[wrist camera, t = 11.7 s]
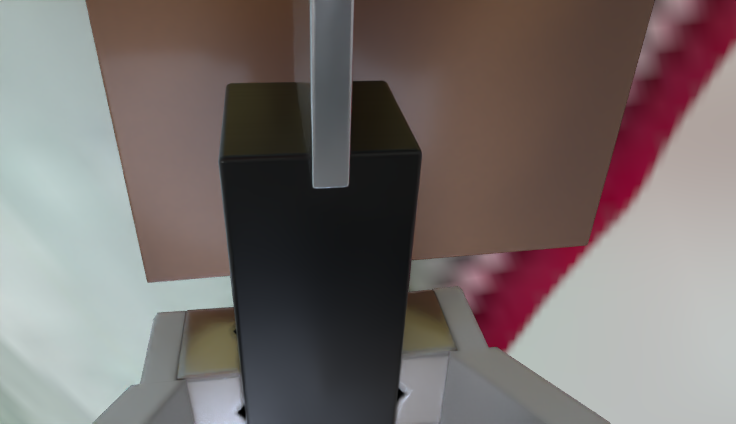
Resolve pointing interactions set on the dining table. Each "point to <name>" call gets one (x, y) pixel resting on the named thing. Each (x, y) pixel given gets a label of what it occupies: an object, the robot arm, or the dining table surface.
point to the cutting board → (413, 95)
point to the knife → (319, 231)
